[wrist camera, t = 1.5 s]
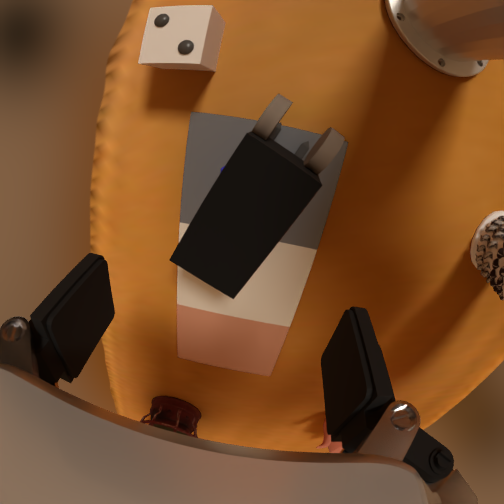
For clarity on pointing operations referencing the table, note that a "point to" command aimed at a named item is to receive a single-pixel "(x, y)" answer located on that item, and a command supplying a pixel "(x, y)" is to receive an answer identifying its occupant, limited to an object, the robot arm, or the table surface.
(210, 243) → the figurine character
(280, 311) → the game board
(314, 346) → the table surface
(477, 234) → the decorative candle
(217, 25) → the die
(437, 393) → the table surface
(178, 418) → the lantern
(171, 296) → the table surface
